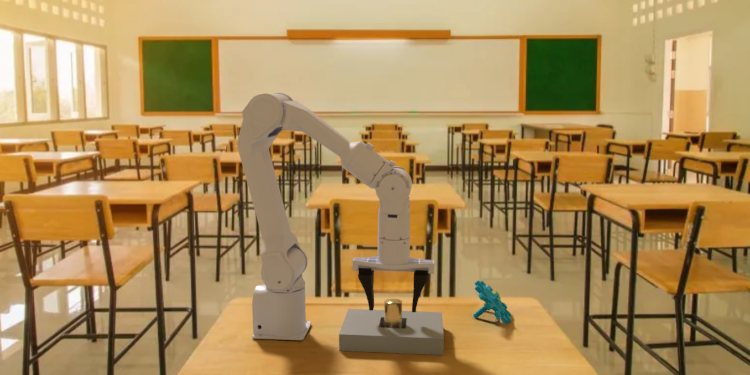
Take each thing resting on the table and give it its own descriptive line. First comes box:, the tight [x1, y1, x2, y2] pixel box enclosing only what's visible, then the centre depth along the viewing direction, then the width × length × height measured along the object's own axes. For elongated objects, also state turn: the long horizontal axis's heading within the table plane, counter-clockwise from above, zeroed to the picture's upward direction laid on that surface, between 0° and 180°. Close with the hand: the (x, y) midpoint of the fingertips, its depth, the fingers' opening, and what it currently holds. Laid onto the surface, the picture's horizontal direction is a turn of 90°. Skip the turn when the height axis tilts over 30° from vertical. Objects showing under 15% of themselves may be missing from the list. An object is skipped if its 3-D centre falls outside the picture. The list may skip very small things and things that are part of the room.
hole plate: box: [338, 308, 445, 356], centre depth 107 cm, size 18×12×3 cm, turn 85°
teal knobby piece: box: [472, 280, 513, 324], centre depth 117 cm, size 11×6×10 cm
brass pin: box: [383, 298, 403, 328], centre depth 107 cm, size 3×3×7 cm
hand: (392, 309), depth 106 cm, fingers open, 7 cm apart
